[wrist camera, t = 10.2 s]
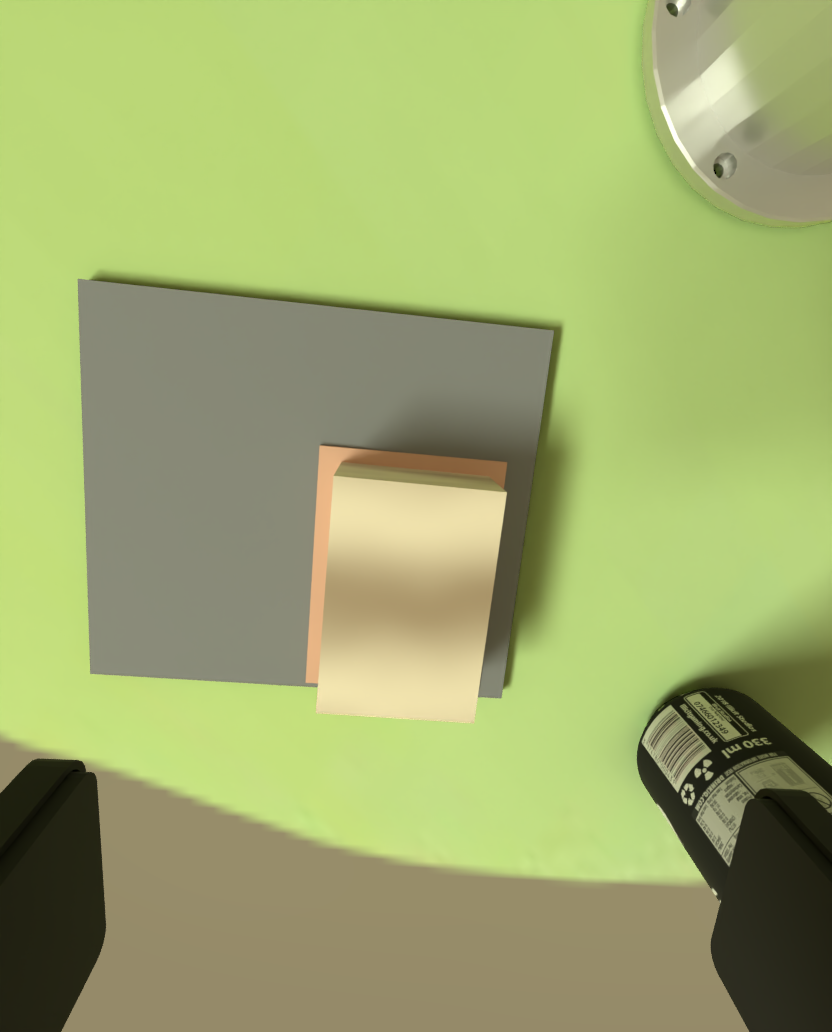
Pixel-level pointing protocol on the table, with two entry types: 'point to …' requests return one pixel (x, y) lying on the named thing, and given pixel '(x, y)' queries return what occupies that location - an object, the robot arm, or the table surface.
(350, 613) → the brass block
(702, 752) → the beverage can
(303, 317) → the rubber mat
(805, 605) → the table surface
